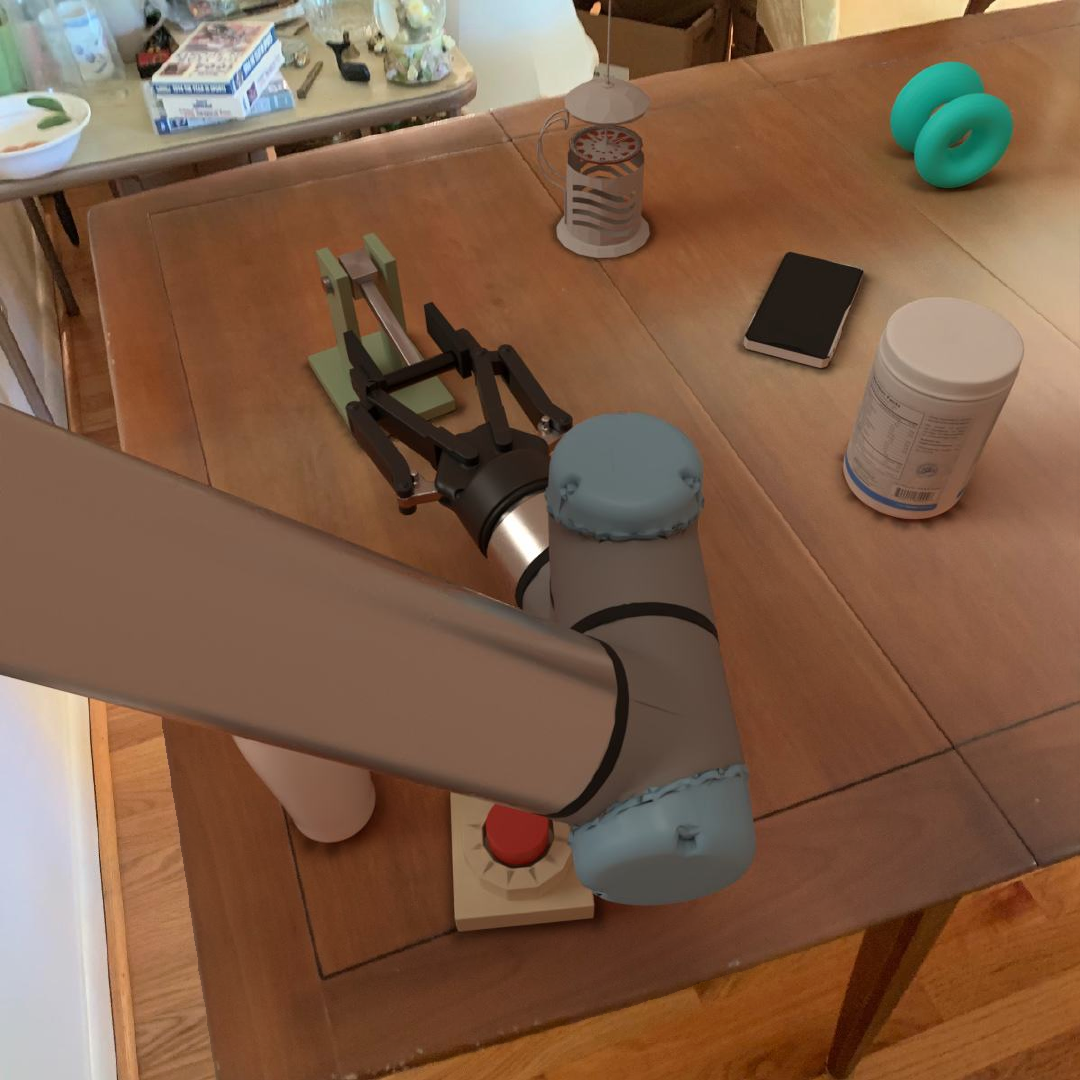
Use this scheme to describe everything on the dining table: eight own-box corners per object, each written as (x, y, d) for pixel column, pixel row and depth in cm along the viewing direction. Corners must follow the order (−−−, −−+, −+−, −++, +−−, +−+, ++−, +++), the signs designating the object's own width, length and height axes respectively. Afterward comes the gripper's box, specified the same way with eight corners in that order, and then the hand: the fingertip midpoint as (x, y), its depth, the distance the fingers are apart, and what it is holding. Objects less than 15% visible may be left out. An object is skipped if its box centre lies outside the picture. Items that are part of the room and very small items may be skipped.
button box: (457, 932, 57) (451, 909, 54) (453, 803, 62) (447, 775, 59) (593, 918, 57) (595, 894, 54) (577, 791, 62) (578, 763, 59)
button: (489, 868, 56) (487, 857, 54) (485, 809, 58) (484, 796, 57) (552, 862, 56) (551, 851, 54) (546, 803, 58) (545, 790, 57)
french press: (645, 261, 98) (664, -2, 79) (531, 252, 99) (522, -9, 80) (654, 207, 104) (674, -50, 85) (547, 199, 106) (542, -56, 86)
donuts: (960, 141, 111) (990, 52, 104) (998, 188, 105) (1032, 98, 97) (876, 149, 111) (899, 60, 103) (909, 197, 104) (936, 106, 97)
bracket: (456, 409, 85) (440, 276, 74) (360, 447, 82) (329, 314, 72) (399, 333, 92) (378, 202, 81) (310, 366, 89) (274, 234, 78)
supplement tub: (901, 422, 83) (954, 277, 71) (987, 492, 78) (1060, 347, 66) (814, 468, 80) (855, 323, 68) (899, 543, 74) (958, 401, 63)
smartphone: (866, 268, 95) (829, 360, 86) (863, 279, 96) (826, 371, 87) (785, 250, 97) (741, 338, 88) (783, 260, 98) (739, 348, 89)
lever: (458, 375, 75) (459, 355, 73) (387, 402, 73) (385, 382, 71) (387, 262, 80) (385, 240, 78) (318, 285, 78) (315, 263, 76)
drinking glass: (384, 749, 64) (345, 621, 53) (392, 847, 60) (351, 731, 49) (281, 766, 64) (218, 640, 52) (282, 866, 60) (213, 754, 48)
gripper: (407, 621, 63) (285, 408, 76) (653, 509, 69) (500, 329, 82) (391, 548, 57) (262, 332, 70) (661, 433, 63) (496, 253, 76)
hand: (390, 331), depth 76 cm, fingers closed on lever, 6 cm apart
